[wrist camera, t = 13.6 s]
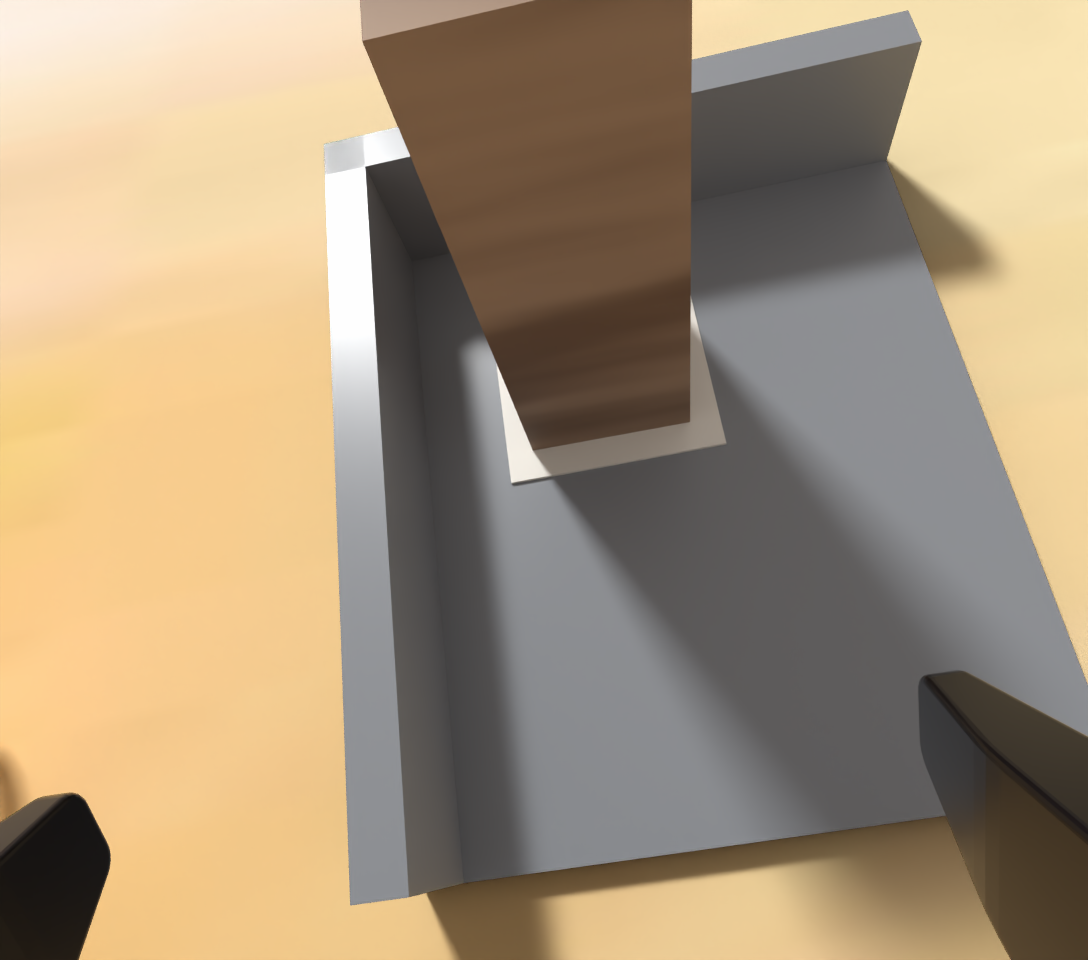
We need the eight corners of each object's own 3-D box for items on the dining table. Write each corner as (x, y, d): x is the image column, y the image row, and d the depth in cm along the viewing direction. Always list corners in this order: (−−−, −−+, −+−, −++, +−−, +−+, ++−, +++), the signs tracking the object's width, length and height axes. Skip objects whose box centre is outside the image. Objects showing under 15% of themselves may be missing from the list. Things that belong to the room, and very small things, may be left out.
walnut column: (690, 422, 24) (692, -37, 11) (532, 450, 24) (362, 40, 12) (661, 290, 26) (634, -235, 13) (515, 318, 26) (351, -161, 14)
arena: (1115, 791, 20) (1245, 780, 15) (423, 888, 21) (350, 905, 17) (871, 145, 27) (908, 10, 23) (381, 251, 29) (323, 144, 24)
